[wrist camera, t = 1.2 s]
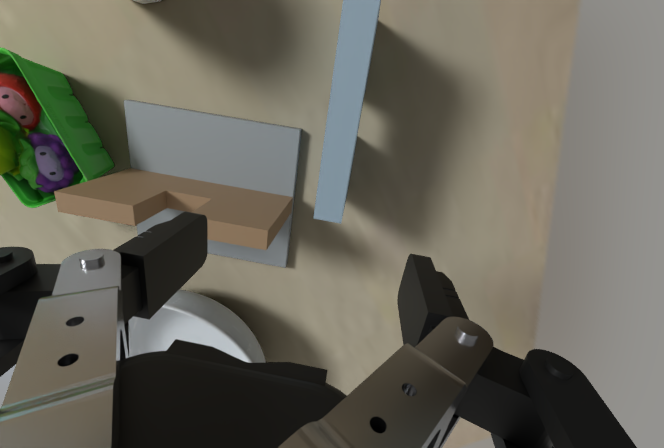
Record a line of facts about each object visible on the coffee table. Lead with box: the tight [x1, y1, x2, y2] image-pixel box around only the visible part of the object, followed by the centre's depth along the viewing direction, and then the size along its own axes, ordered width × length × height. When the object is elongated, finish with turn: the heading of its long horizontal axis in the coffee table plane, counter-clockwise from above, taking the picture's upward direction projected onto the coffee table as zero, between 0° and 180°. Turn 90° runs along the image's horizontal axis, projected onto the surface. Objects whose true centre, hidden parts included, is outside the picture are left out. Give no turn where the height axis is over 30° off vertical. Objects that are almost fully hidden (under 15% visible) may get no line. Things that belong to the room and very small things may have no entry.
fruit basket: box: [0, 48, 114, 208], centre depth 25 cm, size 11×9×11 cm
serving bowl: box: [129, 289, 266, 363], centre depth 36 cm, size 21×21×7 cm
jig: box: [54, 100, 302, 267], centre depth 27 cm, size 14×16×9 cm
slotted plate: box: [314, 0, 381, 223], centre depth 23 cm, size 14×2×8 cm, turn 171°
